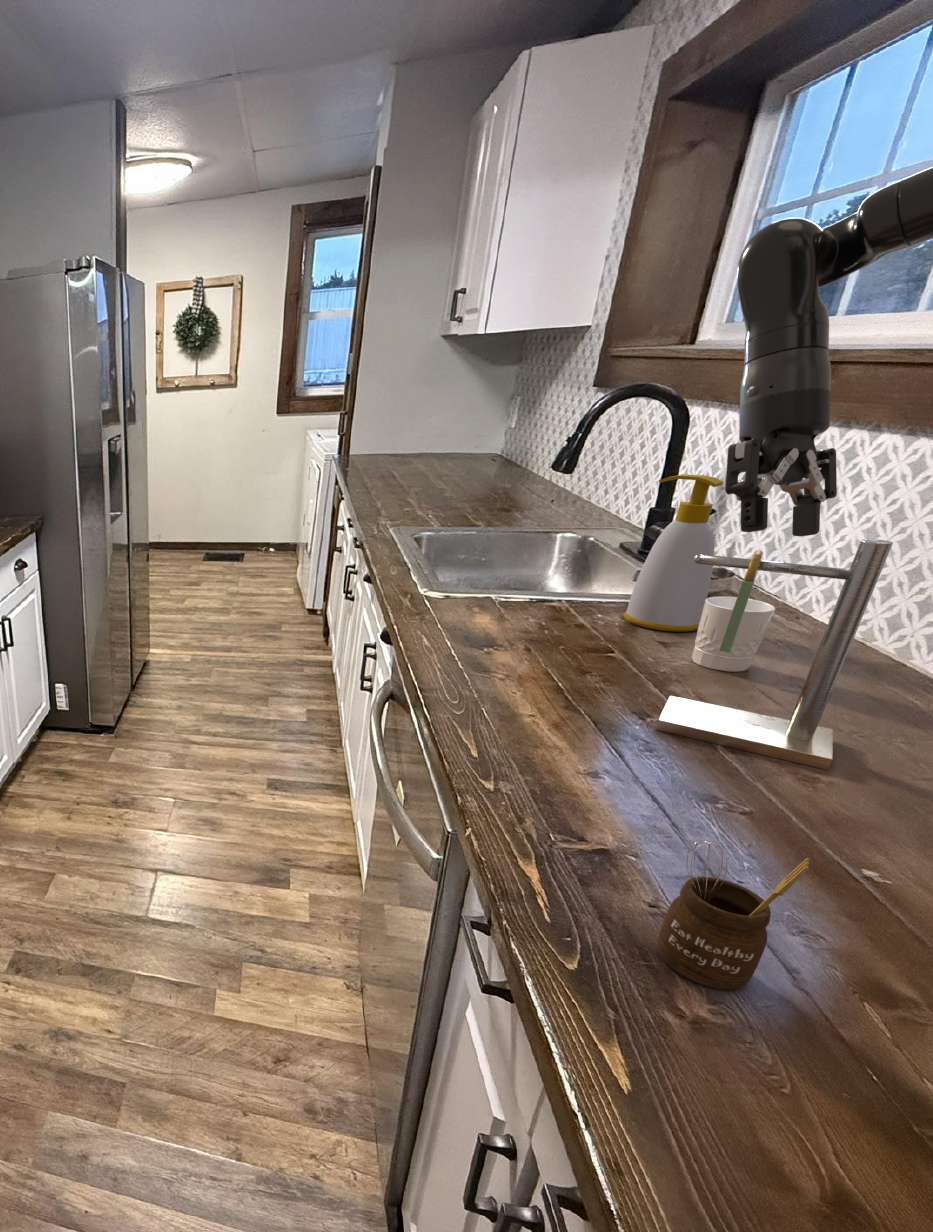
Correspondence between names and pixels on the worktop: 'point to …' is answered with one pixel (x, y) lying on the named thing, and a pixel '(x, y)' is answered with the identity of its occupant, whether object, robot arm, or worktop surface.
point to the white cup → (715, 628)
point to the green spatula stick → (741, 602)
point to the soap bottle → (677, 567)
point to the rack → (802, 732)
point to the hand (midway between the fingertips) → (780, 533)
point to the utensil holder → (718, 928)
